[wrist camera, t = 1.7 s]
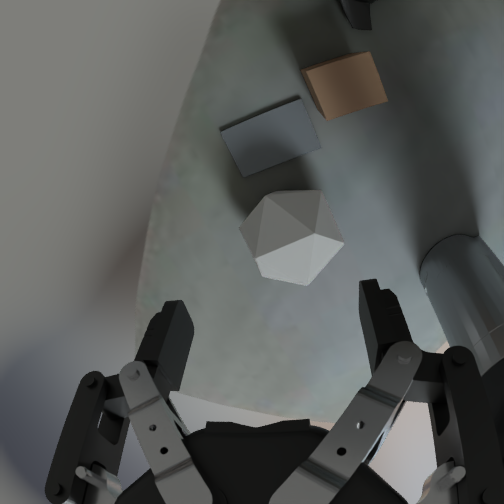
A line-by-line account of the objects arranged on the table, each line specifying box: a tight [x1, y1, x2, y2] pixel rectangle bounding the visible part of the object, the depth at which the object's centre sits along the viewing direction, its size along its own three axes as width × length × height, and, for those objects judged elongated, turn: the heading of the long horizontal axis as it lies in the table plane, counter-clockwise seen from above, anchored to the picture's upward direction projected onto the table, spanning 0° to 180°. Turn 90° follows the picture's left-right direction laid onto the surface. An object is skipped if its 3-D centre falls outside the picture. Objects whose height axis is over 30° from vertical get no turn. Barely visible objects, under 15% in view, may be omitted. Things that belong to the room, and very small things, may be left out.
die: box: [239, 190, 345, 286], centre depth 29 cm, size 8×9×10 cm
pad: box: [220, 98, 321, 178], centre depth 28 cm, size 8×5×1 cm, turn 115°
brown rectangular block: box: [300, 52, 388, 121], centre depth 22 cm, size 5×4×6 cm
